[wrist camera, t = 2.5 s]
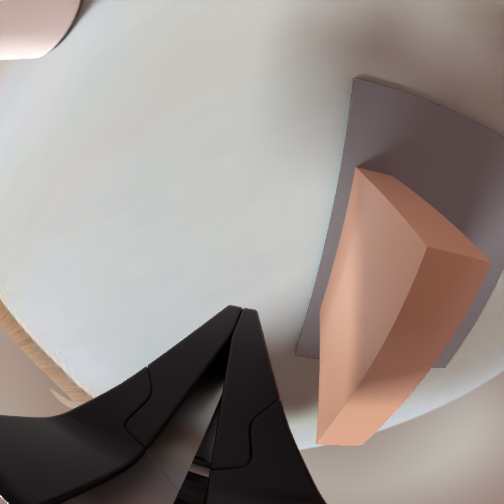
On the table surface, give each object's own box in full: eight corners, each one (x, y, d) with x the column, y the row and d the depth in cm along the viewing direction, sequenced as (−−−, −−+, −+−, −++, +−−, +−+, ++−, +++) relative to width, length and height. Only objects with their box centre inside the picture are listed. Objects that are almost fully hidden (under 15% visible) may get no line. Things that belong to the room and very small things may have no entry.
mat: (443, 363, 16) (444, 367, 15) (295, 350, 17) (295, 355, 17) (532, 157, 8) (536, 158, 8) (353, 79, 10) (355, 78, 9)
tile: (350, 315, 15) (362, 445, 8) (319, 310, 15) (315, 443, 8) (393, 176, 11) (493, 262, 4) (355, 166, 11) (427, 246, 4)
